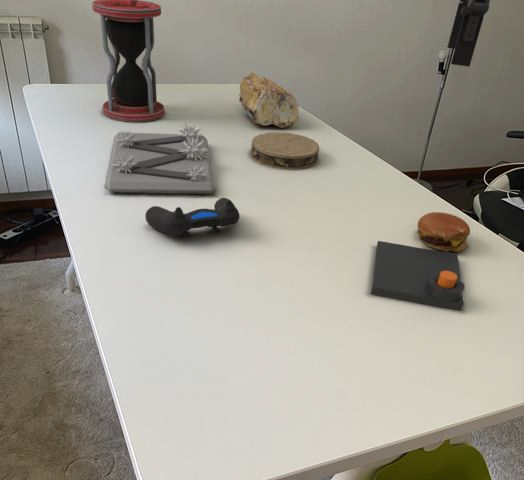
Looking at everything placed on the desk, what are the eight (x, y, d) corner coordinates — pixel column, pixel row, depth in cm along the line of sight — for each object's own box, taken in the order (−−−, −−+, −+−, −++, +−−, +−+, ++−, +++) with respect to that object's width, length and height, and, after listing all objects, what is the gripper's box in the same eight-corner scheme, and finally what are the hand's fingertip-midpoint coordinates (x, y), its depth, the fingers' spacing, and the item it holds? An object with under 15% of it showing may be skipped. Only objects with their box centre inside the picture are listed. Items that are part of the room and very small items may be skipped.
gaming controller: (147, 241, 99) (161, 237, 90) (141, 208, 98) (154, 201, 89) (233, 228, 105) (253, 223, 96) (228, 198, 104) (248, 190, 95)
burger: (429, 224, 108) (436, 202, 105) (474, 242, 103) (482, 219, 100) (404, 241, 102) (411, 217, 99) (450, 260, 97) (458, 236, 94)
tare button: (453, 281, 86) (457, 272, 85) (454, 290, 84) (458, 280, 83) (436, 278, 87) (440, 269, 85) (437, 287, 85) (440, 277, 83)
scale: (455, 261, 97) (460, 246, 95) (461, 311, 85) (467, 295, 83) (376, 247, 99) (379, 232, 97) (370, 295, 86) (374, 278, 84)
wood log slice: (305, 174, 123) (307, 161, 121) (240, 159, 127) (241, 146, 125) (325, 153, 135) (327, 140, 133) (265, 140, 138) (266, 128, 137)
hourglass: (177, 115, 149) (174, 7, 133) (129, 126, 139) (120, 11, 123) (138, 100, 156) (132, -3, 140) (90, 110, 146) (78, -1, 131)
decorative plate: (115, 141, 129) (112, 110, 125) (206, 144, 133) (207, 113, 128) (105, 195, 107) (101, 159, 102) (215, 197, 110) (216, 161, 106)
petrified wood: (231, 106, 157) (240, 69, 152) (273, 116, 162) (283, 80, 157) (250, 126, 143) (260, 85, 137) (295, 136, 148) (307, 97, 142)
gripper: (470, -115, 85) (432, 39, 98) (485, -125, 66) (436, 69, 79) (520, -111, 84) (475, 45, 97) (550, -119, 65) (489, 76, 78)
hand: (457, 56), depth 88 cm, fingers open, 13 cm apart
